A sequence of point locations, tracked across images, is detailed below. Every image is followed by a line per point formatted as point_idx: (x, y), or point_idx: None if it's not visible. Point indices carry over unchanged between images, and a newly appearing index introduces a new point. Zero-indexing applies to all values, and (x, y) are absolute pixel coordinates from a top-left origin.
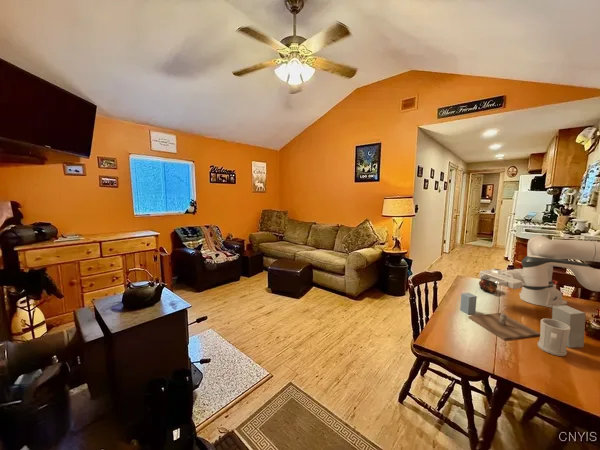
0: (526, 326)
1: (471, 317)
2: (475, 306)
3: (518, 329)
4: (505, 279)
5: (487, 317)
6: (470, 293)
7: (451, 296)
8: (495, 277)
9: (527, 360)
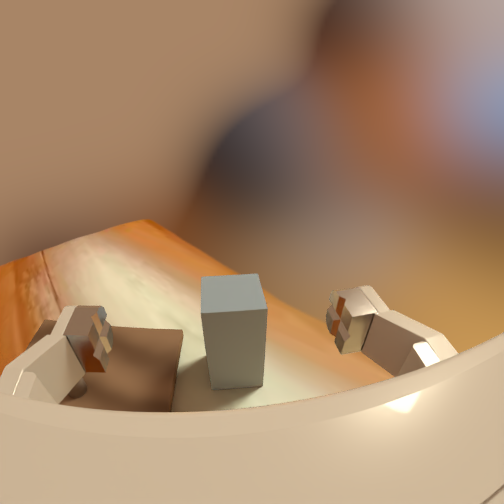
0: None
1: (169, 331)
2: (207, 362)
3: None
4: (11, 411)
5: (142, 387)
6: (251, 309)
7: None
8: (233, 414)
9: (3, 304)
